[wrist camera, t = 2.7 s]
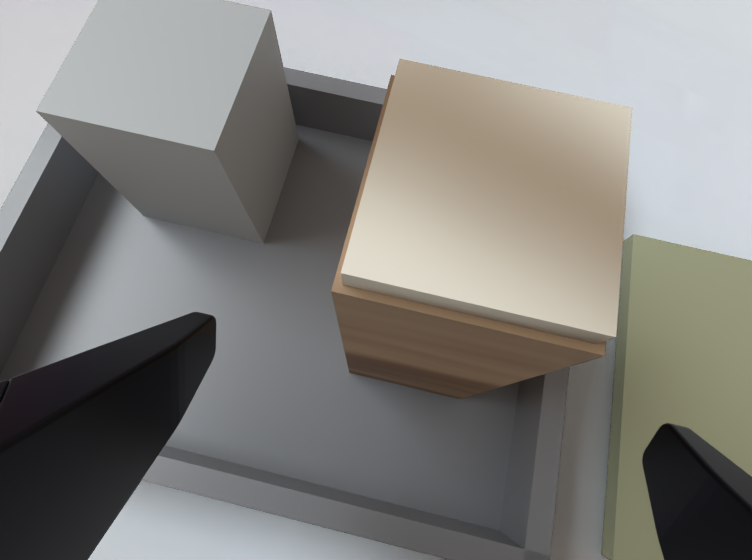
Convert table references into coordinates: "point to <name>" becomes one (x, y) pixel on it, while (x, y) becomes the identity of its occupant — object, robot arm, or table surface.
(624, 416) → the olive board
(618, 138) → the walnut box
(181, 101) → the grey box
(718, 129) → the table surface
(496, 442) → the tray
